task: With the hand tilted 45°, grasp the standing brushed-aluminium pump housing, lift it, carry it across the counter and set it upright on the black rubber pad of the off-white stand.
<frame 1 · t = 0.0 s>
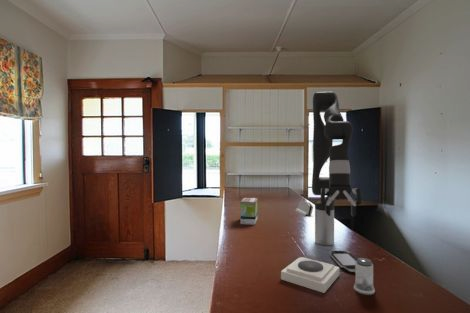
hand: (340, 216, 103), 22 cm above the counter, tool pointing down, fingers open, 8 cm apart
stand: (310, 277, 102), on the counter
gaming console: (346, 264, 114), on the counter
hinge: (304, 213, 202), on the counter
tea box: (249, 221, 180), on the counter
housing: (364, 289, 92), on the counter
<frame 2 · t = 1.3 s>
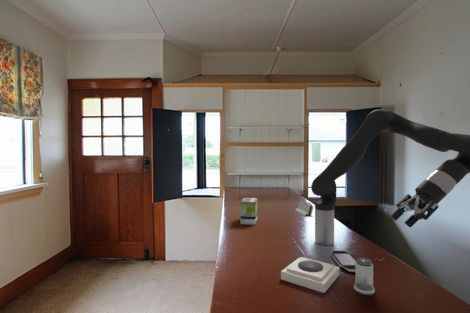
hand: (399, 221, 91), 23 cm above the counter, tool tilted 45°, fingers open, 8 cm apart
nothing on the counter moved.
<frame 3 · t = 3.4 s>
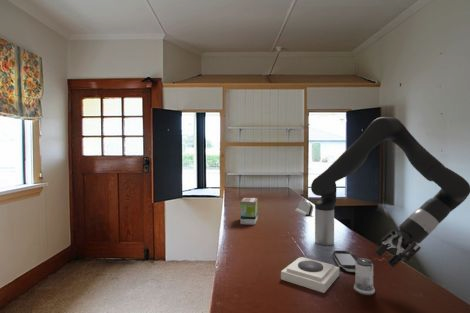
hand: (383, 259, 92), 10 cm above the counter, tool tilted 45°, fingers open, 8 cm apart
nothing on the counter moved.
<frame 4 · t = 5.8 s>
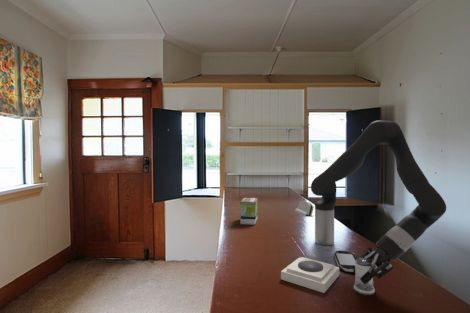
hand: (358, 277, 92), 4 cm above the counter, tool tilted 45°, fingers closed on housing, 5 cm apart
housing: (364, 289, 92), on the counter, touching gripper
everything else where it was.
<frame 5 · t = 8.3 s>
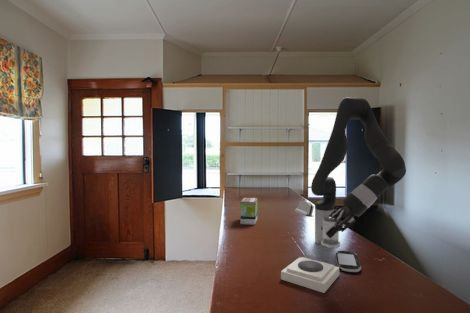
hand: (325, 233, 98), 17 cm above the counter, tool tilted 45°, fingers closed on housing, 5 cm apart
housing: (330, 244, 98), point 13 cm above the counter, touching gripper
when the fingers open (10 cm above the counter, at t = 10.8 s): housing drops 1 cm, resting on stand.
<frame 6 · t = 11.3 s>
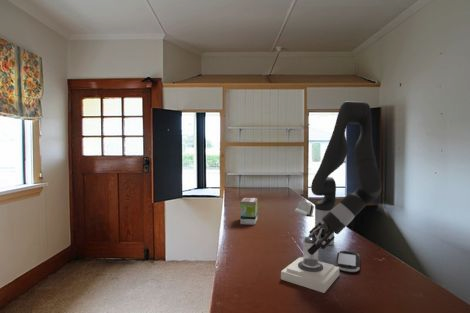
hand: (306, 248, 101), 11 cm above the counter, tool tilted 45°, fingers open, 8 cm apart
housing: (310, 265, 101), point 4 cm above the counter, touching stand
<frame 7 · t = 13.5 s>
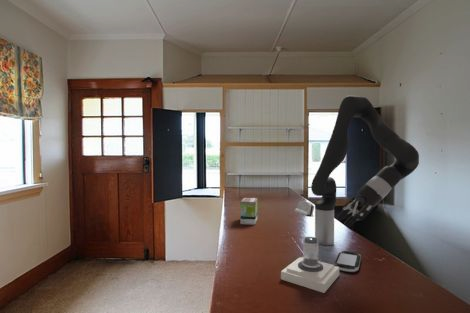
hand: (342, 222, 101), 21 cm above the counter, tool tilted 45°, fingers open, 8 cm apart
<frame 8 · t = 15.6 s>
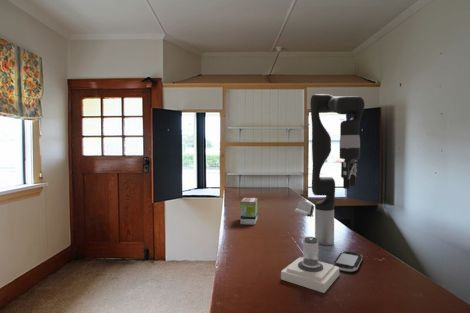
hand: (349, 187, 109), 32 cm above the counter, tool pointing down, fingers open, 8 cm apart
at the end: housing inside the target area on the stand (0.1 cm from its centre), point 4.4 cm above the stand's base; housing tilted 0°; the gripper is holding nothing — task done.
